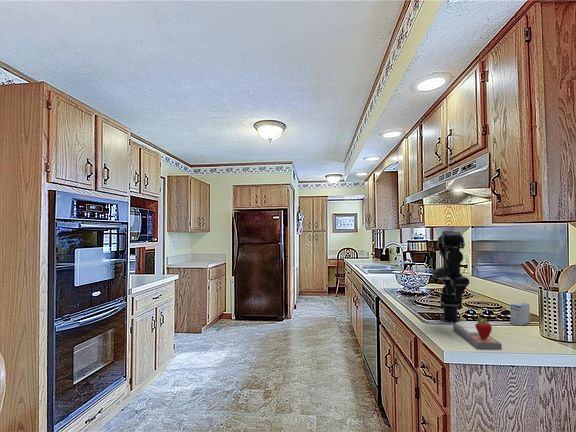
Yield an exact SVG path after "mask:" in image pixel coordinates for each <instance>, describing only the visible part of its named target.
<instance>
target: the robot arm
mask: <svg viewBox="0 0 576 432" xmlns="http://www.w3.org/2000/svg"><path fill="white" fill-rule="evenodd" d="M465 243H466V242H465V238H464V236H463V234H461V232H460V231H453V230H443V231H442V232H441V235H440V236H439V237H438V238H437V250H438V251H439V252H438V253H439V255H440V256H441V258H442V261H443V263H442V264H443V266H442V267H438V268H435V269H433V270H431V271H430V272H431V275H432V278H433V279H435V280H440V281H441V282H442V283H443V284H444V286H443V287H442V290H441V293H440V294H439V295H440V296H439V297H440V298H439V306H440V308H443V317H441V318H440V321H445V322H451V323H456V322H459V321H460V320H461V318H458V309H461V308H463V297H462V295H463V294H464V292H465V290H466V288H467V287H468V286H469V285H470V279H469V278H468V277H466V276H463V275H462V274H463V273H461V268H462V267H463V265H462V262H463V261H464V254H463V253H462V252H461V250H460V249H463V250H464V248H465V245H466V244H465Z"/></svg>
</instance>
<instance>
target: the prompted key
mask: <svg viewBox="0 0 576 432" xmlns="http://www.w3.org/2000/svg"><path fill="white" fill-rule="evenodd" d="M471 338H473V339H474V340H475V341H476V342H478V343H497V342H496V341H494V340H493V339H491V338H490V337H488V338H487V339H481V338H480V337H473V336H471Z"/></svg>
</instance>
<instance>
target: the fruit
mask: <svg viewBox="0 0 576 432" xmlns="http://www.w3.org/2000/svg"><path fill="white" fill-rule="evenodd" d="M490 322H491V320H487V318H484V319H483V318H482V317H481V318H480V319H478V320H477V322H476V323H475V325H476V329H477V331H478V332H479V335H480V338H481V339H487V338H488V336H490V334H491V332H492V330H493V327H492V324H491V323H490Z"/></svg>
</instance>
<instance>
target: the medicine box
mask: <svg viewBox="0 0 576 432" xmlns="http://www.w3.org/2000/svg"><path fill="white" fill-rule="evenodd" d="M509 307H510V324H511V323H512V325H515V326H523V325H526V324H529V323H530V304H529V303H527V302H521V301H518V302H517V301H516V302H515V303H511V304H510V305H509Z"/></svg>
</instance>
